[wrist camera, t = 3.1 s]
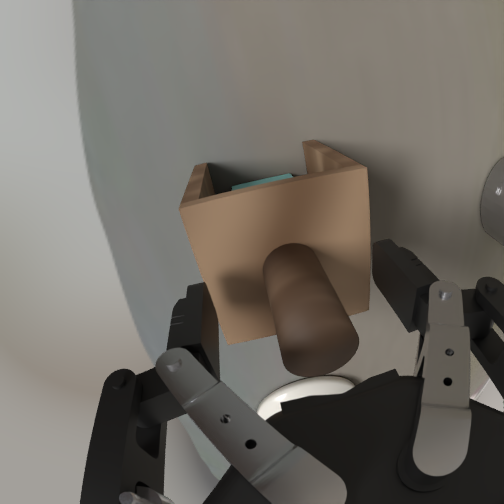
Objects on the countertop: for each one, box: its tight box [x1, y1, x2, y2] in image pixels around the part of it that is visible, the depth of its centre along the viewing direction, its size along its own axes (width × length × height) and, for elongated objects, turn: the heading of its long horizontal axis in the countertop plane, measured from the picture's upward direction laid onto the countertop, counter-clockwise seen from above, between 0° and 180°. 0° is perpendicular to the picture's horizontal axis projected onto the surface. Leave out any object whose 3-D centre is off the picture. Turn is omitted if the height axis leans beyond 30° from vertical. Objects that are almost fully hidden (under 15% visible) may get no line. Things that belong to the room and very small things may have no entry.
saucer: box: [257, 376, 355, 420], centre depth 33 cm, size 13×13×1 cm
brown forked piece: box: [179, 140, 370, 377], centre depth 15 cm, size 8×8×13 cm
